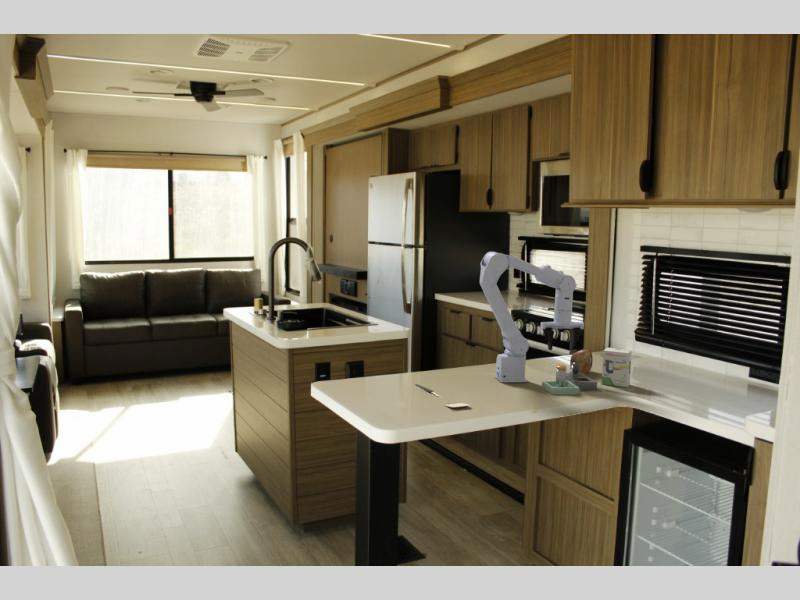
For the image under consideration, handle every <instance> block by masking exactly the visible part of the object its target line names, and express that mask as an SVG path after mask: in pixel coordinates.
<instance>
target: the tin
mask: <svg viewBox="0 0 800 600" xmlns="http://www.w3.org/2000/svg"><path fill="white" fill-rule="evenodd" d="M592 353H593V352H592V350H590V349H581V350H578V351H575V352H573V353H572V355H571V357H570V360H569V369H570V370H569V371H570V372H569V373H571V363H572V362H577V364H578V367H579V371H578V373H583V374H584V375H587V374H589V373H590V372H591V370H592V368H593V361H594V360H593V354H592Z"/></svg>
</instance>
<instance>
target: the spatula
mask: <svg viewBox="0 0 800 600" xmlns="http://www.w3.org/2000/svg"><path fill="white" fill-rule="evenodd" d="M415 385H416V386H415ZM414 386H415V387H417V386H418V388H419V387H420V389H421V388H422V389H421V390H423V389H424V390H423V391H425V390H426V391H425V392H427V391H428V393H430V394H433V395H434V396H435V397H437V396H440V397H442V396H441V395H439V394H438V393H436V392H434V390H432V389H430V388H428V387H425V386H422V385H420V384H417V383H415V384H414ZM444 405H445V406H444V407H449V408H462V407H469V406H471V404H470V403H465V402H464V403H463V402H459V403H452V404H450V403H449V405H448V404H444Z"/></svg>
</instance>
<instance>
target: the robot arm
mask: <svg viewBox="0 0 800 600" xmlns="http://www.w3.org/2000/svg"><path fill="white" fill-rule="evenodd" d="M514 269H516V270H519V271H521V272H524V273H526V274H530V275H532V276H534V278H535V281H537V282H538V283H541V284H543V285H546V286H548V287H551V288H553V289H555V296H554V297H555V298H554V316H553V321H541V322H540V329H542V332H543V334H544V337H545V340H546V343H547V344H546V345H547V350H549V351H552V350H553V346H554V345H553V342H554V334H555V331H554V330H555V329H562V330H563V329H567V330H568V329H569V350H571V351H574V350H575V346H576V343H577V342H578V340H579V337H580V336H581V334H582V332H583V330H584V328H585V323H584V322H577V321H576V322H574V321H572V313H573V299H574V294H573V293H574V291H575V290H576V288H577V285H578V284H577V283H576V280H575V278H574V277H573V276H572V275H569V274H566V273H564V270H563V271H562V270H556V269H554V268H552V266H551V265H550V264H546V265H544V264H543V265H540V266H536V265H534V264H532V263H529V262H527V261H526V260H523V259H521V258H519V257H516V256H513V255H508V254H504V253H502V252H497V251H488V252H487V253H485V255H484V256H483V258H482V260H481V261H480V273H479V285H480V287H481V290H482V291H483V294H484V296H485V298H486V300H487V302H488V305H489V307H490V309H491V311H492V313H493V315H494V317H495V319H496V321H497V324H498V326H499V328H500V330H501V333H500V334H501V336H502V344H503V346H504V348H505V349H504V353H502V354H501V353H499V354H497V356H496V360H495V361H496V362H495V363H496V364H495V376H494V378H496V379H497V380H498V381H499V382H501V383H530V382H529V379H527V378H525V377H526V363H527V360H526V359H527V352H528V351H529V349H530V348H529V347H530V344H529V341H528V339H526V338H525V337H524V336H523V334H522V332H521V331H520V330H519V328H518V327H517V325H516V323H515V321H514V319H513V316H512V315H511V313H510V310H509V308H508V306H507V303H506V302H505V300H504V298H503V296H502V293H501V291H500V289H499V287H498V284H497V283H498V281H499V279H500V277H501V275H502V274H503V273H504V272H505V271H506V270H514Z"/></svg>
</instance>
